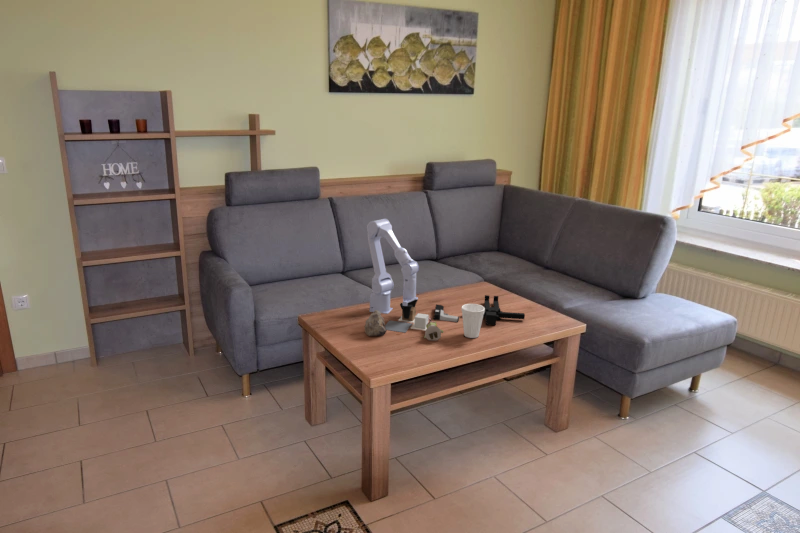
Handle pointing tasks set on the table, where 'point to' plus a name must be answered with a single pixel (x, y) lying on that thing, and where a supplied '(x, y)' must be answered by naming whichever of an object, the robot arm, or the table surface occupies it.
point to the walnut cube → (412, 314)
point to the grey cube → (421, 321)
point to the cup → (472, 319)
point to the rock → (375, 324)
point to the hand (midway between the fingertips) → (408, 315)
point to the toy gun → (443, 314)
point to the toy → (497, 312)
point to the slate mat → (398, 326)
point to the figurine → (432, 331)
